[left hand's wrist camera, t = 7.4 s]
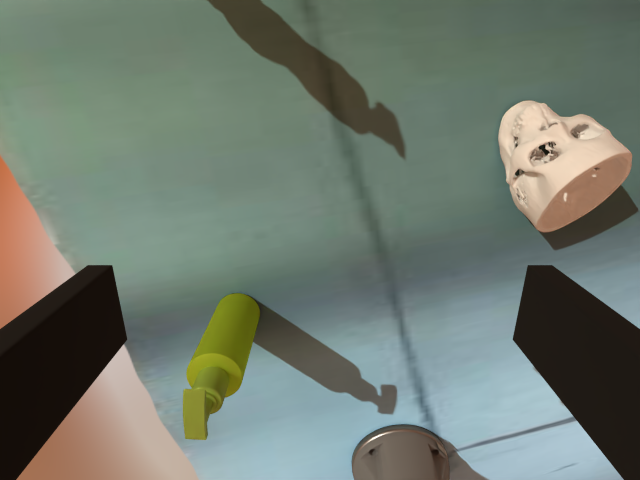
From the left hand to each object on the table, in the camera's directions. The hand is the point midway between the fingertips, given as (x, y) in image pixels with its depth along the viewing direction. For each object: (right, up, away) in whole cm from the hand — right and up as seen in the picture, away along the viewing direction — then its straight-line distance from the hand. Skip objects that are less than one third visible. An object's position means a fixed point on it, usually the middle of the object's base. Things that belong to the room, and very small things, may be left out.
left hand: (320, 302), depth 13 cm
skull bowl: (+26, +11, +34) cm, 44 cm away
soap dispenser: (-11, -7, +41) cm, 43 cm away
